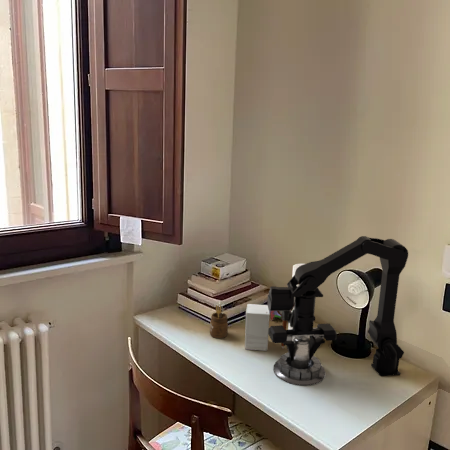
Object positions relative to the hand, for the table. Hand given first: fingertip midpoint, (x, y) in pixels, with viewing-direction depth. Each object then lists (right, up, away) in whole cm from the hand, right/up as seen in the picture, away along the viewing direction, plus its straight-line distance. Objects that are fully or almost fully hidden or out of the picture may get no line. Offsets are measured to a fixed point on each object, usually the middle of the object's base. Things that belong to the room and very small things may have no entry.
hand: (300, 359), depth 149 cm
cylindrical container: (+2, +1, +21) cm, 21 cm away
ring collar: (0, -4, +1) cm, 4 cm away
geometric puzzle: (-4, +5, +36) cm, 36 cm away
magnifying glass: (-3, 0, +14) cm, 15 cm away
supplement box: (-12, 0, +16) cm, 20 cm away
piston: (0, -2, 0) cm, 2 cm away
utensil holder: (-24, +2, +21) cm, 32 cm away
